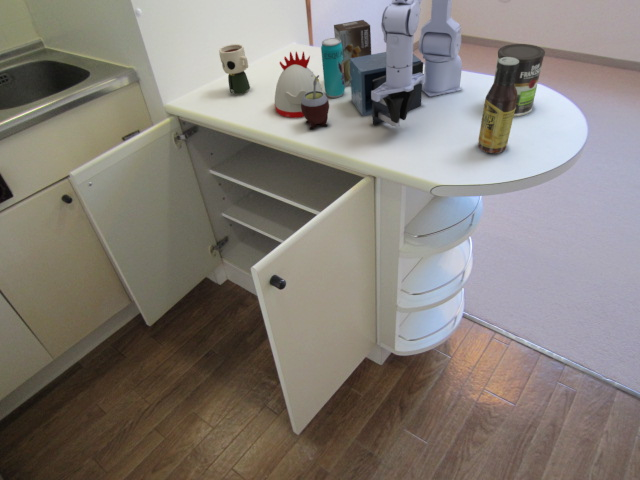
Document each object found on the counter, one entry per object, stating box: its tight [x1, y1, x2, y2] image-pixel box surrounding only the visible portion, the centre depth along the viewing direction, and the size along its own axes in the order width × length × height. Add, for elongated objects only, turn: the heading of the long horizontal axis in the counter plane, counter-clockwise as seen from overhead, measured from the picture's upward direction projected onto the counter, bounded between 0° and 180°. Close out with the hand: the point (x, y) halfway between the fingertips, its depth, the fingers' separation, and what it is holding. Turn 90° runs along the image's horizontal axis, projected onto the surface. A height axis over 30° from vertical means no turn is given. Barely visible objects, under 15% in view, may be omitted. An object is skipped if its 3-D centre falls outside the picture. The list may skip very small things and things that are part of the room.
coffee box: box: [333, 19, 372, 88], centre depth 134 cm, size 9×6×16 cm
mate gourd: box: [301, 74, 330, 131], centre depth 116 cm, size 8×8×15 cm
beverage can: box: [320, 37, 346, 99], centre depth 129 cm, size 6×6×15 cm
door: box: [371, 61, 424, 128], centre depth 114 cm, size 8×16×12 cm, turn 124°
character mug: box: [218, 43, 251, 95], centre depth 137 cm, size 11×7×13 cm, turn 53°
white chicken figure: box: [274, 51, 324, 119], centre depth 125 cm, size 14×14×15 cm
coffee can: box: [493, 43, 546, 117], centre depth 113 cm, size 10×10×14 cm
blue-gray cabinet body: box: [350, 51, 422, 117], centre depth 123 cm, size 10×16×12 cm, turn 103°
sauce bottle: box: [478, 57, 519, 154], centre depth 98 cm, size 6×6×20 cm
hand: (398, 120), depth 111 cm, fingers closed on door, 2 cm apart
